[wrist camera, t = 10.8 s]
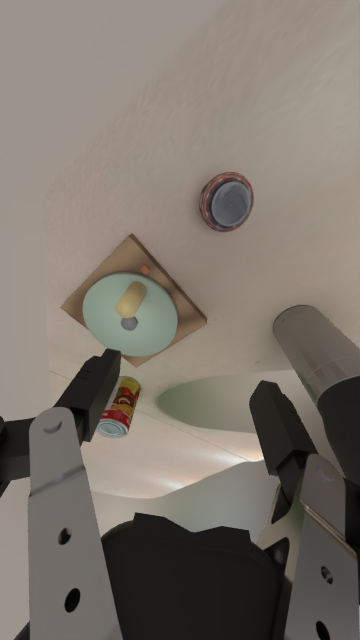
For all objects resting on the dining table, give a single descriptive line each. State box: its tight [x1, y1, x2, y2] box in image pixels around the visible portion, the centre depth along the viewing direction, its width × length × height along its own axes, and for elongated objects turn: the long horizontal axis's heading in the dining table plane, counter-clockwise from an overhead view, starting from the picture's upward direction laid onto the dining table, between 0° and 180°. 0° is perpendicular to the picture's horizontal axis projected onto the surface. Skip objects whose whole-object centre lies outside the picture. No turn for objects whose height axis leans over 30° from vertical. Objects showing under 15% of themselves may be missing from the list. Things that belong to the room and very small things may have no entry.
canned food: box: [95, 376, 141, 439], centre depth 48 cm, size 8×8×12 cm
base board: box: [60, 234, 207, 367], centre depth 39 cm, size 21×21×2 cm
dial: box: [83, 272, 178, 357], centre depth 34 cm, size 18×18×9 cm
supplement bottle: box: [199, 172, 254, 232], centre depth 24 cm, size 6×6×11 cm
